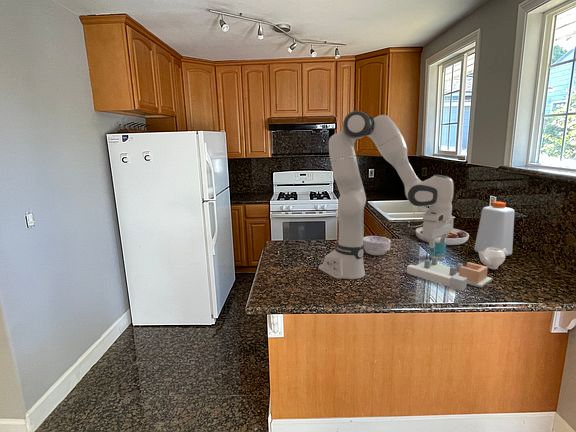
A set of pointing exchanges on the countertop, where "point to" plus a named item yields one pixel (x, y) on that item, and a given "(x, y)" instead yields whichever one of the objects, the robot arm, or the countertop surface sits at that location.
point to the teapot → (492, 257)
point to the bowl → (448, 236)
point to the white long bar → (438, 277)
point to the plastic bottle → (496, 228)
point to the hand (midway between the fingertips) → (437, 245)
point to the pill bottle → (438, 249)
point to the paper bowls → (376, 245)
